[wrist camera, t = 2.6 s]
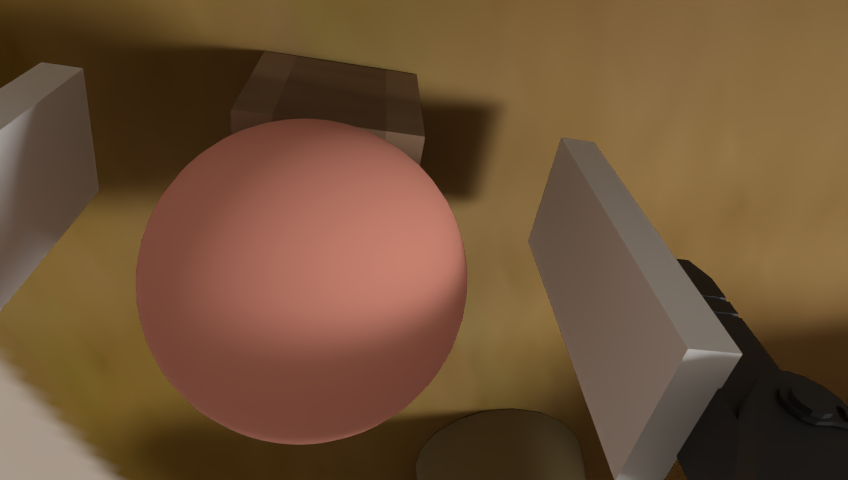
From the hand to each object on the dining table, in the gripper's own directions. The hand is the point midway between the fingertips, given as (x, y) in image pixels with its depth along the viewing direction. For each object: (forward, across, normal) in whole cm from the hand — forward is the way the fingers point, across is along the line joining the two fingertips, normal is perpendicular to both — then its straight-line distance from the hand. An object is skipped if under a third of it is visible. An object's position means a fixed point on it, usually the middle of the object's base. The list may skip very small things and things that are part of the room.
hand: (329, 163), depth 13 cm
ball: (-4, 0, 0) cm, 4 cm away
